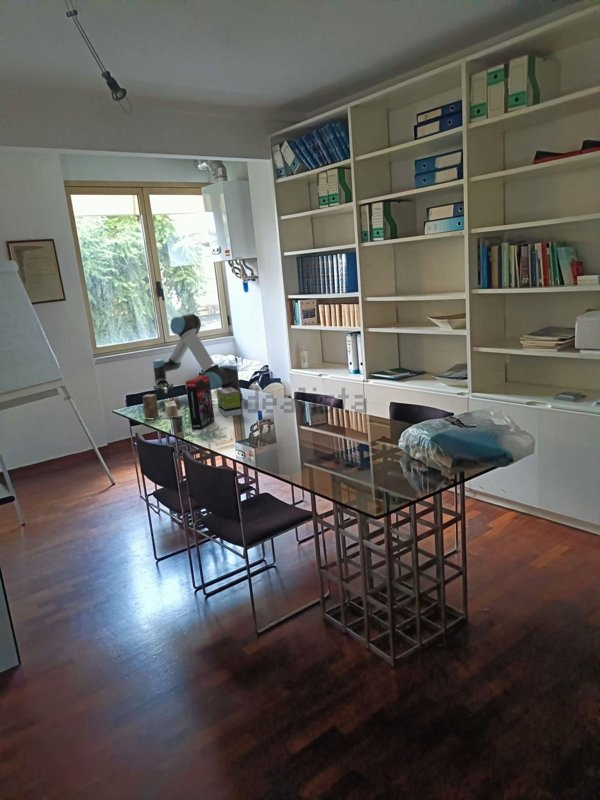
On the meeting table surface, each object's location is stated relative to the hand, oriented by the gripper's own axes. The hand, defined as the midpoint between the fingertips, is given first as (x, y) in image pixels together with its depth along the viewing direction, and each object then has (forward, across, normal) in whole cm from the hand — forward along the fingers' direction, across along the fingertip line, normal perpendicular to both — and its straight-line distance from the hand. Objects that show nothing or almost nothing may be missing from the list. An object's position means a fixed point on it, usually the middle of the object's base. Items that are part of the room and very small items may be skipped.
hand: (166, 390), depth 370 cm
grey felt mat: (+15, -1, -12) cm, 19 cm away
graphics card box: (+52, -14, -12) cm, 55 cm away
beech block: (+5, -1, -9) cm, 10 cm away
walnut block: (+16, +11, -12) cm, 23 cm away
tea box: (+34, -33, -12) cm, 49 cm away
